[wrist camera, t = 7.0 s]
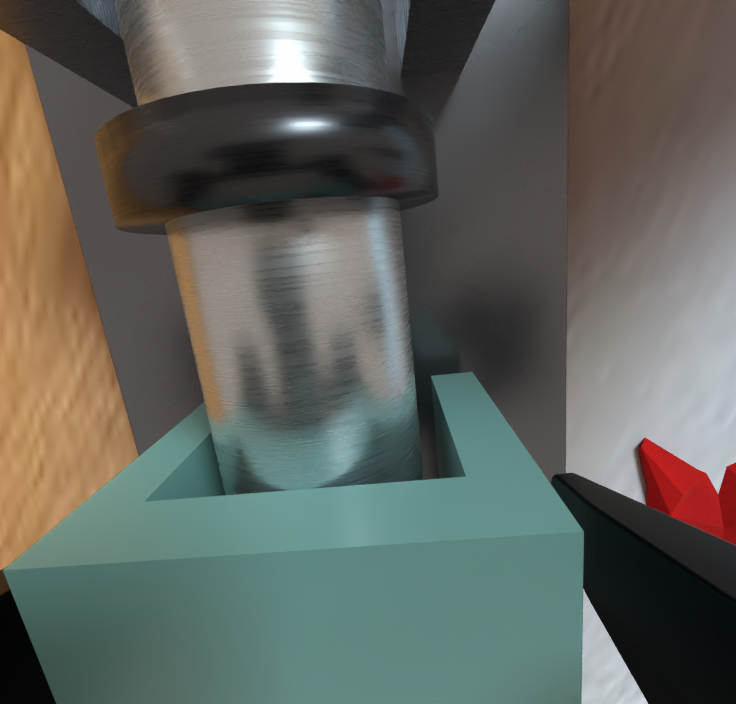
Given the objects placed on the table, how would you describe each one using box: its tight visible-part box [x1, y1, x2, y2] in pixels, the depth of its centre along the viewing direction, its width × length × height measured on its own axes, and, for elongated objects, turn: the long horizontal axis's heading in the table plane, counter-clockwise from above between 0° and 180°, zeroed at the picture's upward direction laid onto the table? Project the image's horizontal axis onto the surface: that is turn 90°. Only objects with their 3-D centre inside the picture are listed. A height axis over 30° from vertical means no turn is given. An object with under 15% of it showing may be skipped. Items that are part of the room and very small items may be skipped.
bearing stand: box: [0, 0, 569, 484], centre depth 8 cm, size 27×12×8 cm, turn 6°
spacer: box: [3, 372, 584, 704], centre depth 8 cm, size 4×7×6 cm
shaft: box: [94, 0, 439, 495], centre depth 7 cm, size 23×5×5 cm, turn 6°
